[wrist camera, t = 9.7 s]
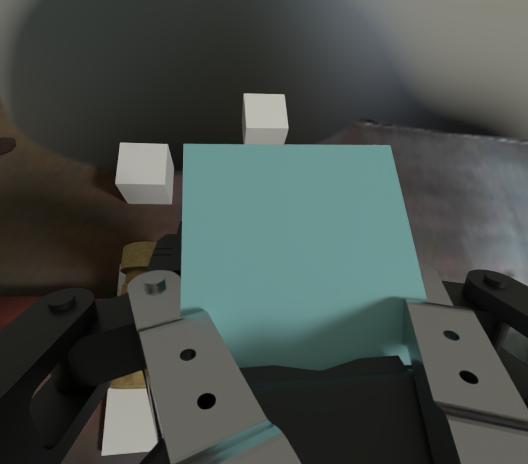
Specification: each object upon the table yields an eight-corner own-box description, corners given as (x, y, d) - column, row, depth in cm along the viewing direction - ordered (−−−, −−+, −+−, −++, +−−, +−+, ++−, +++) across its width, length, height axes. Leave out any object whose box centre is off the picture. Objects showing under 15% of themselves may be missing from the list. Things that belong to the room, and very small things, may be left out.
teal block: (207, 366, 15) (178, 383, 6) (206, 258, 16) (183, 144, 7) (316, 357, 15) (442, 362, 6) (304, 254, 17) (390, 145, 8)
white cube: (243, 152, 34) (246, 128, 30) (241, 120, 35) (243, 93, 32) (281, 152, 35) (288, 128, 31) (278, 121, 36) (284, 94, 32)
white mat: (104, 453, 24) (101, 455, 23) (122, 266, 29) (120, 264, 28) (365, 429, 26) (368, 431, 26) (342, 260, 31) (344, 259, 30)
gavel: (-172, 390, 21) (-111, 240, 24) (-97, 383, 25) (-54, 257, 28) (161, 389, 21) (175, 240, 24) (178, 382, 25) (188, 257, 28)
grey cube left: (128, 204, 31) (115, 183, 27) (132, 167, 32) (120, 142, 28) (171, 204, 31) (164, 184, 27) (174, 168, 33) (167, 144, 29)
